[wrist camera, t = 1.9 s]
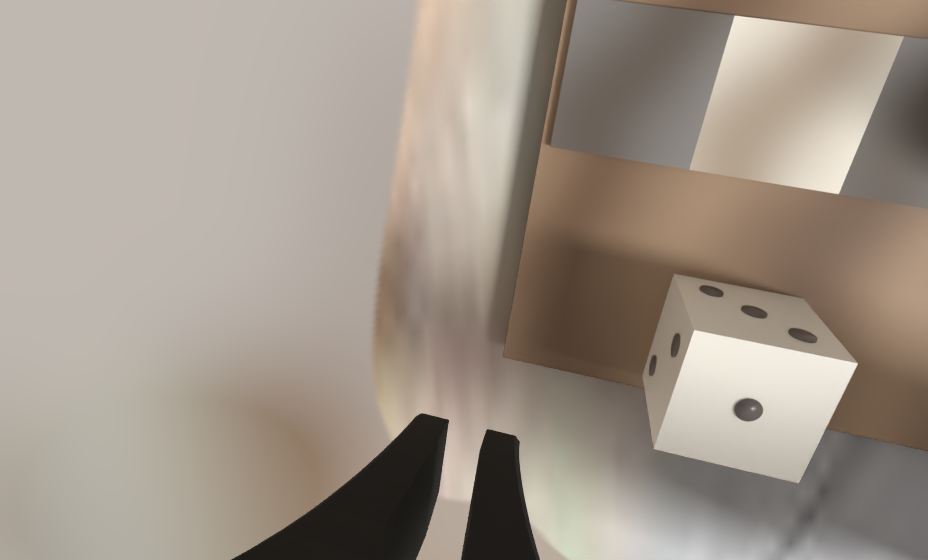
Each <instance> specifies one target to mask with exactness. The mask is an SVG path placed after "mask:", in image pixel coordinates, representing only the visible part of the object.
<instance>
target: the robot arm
mask: <svg viewBox="0 0 928 560" xmlns="http://www.w3.org/2000/svg"><path fill="white" fill-rule="evenodd" d="M448 423H449V420H447V419H443V418H439V417H435V416H431V415H427V414H423V413H421V414H419V415H418V416H416V417H415V418H414V419H413V420H412V422H411V423H410V424H409V425H408V426H407V427H406V428H405V429H404V430H403V431H402V432H401V433H400V434H399V435H398V436H397V437H396V438H395V440H393V441H392V442H391V443H390V444H389V445H388V446H387V447H386V448H385V449H384V450H383V451H382V452H381V453H380V454H379V455H378V456H377V457H376V458H374V459H373V460H372V461H371V462H370V463H369V464H368V465H367V466H366V467H365V468H363V469H362V470H361V471H360V472H359V473H358V474H357V475H355V476H354V477H353V478H352V479H351V480H349V481H348V482H347V483H346V484H344V485H343V486H342V487H341V488H339V489H338V490H337V491H336V492H334V493H333V494H332V495H331V496H329V497H328V498H327V499H325V500H324V501H323V502H321V503H320V504H319V505H318V506H316V507H315V508H313V509H312V510H311V511H309V512H308V513H306V514H305V515H304V516H302V517H301V518H299V519H297V520H296V521H295V522H293V523H292V524H290V525H289V526H287V527H286V528H284V529H283V530H281V531H279V532H278V533H276V534H274V535H273V536H271V537H269V538H268V539H266V540H265V541H263V542H261V543H260V544H258V545H256V546H255V547H253V548H251V549H250V550H248V551H246V552H244V553H242V554H241V555H239V556H237V557H235V558H234V559H232V560H416V558H417V556H418V553H419V551H420V548H421V546H422V543H423V541H424V539H425V536H426V533H427V530H428V526H429V523H430V520H431V516H432V513H433V509H434V506H435V503H436V499H437V496H438V493H439V487H440V480H441V473H442V465H443V458H444V451H445V444H446V437H447V430H448ZM519 443H520V442H519V440H518V439H517V437H516V436H514V435H510V434H506V433H501V432H497V431H493V430H489V429H487V431H486V434H485V436H484V439H483V443H482V446H481V449H480V453H479V459H478V465H477V470H476V476H475V482H474V487H473V493H472V499H471V505H470V511H469V516H468V522H467V528H466V533H465V540H464V545H463V551H462V558H461V560H540V559H539V555H538V552H537V549H536V545H535V541H534V538H533V534H532V530H531V526H530V522H529V517H528V512H527V508H526V503H525V498H524V493H523V487H522V481H521V473H520V463H519Z"/></svg>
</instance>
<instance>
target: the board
mask: <svg viewBox="0 0 928 560" xmlns="http://www.w3.org/2000/svg"><path fill="white" fill-rule="evenodd" d="M673 274H678V275H684V276H689V277H694V278H699V279H705V280H710V281H715V282H720V283H725V284H731V285H736V286H741V287H746V288H752V289H757V290H762V291H767V292H773V293H778V294H783V295H788V296H794V297H799V298H803V299H804V300H805V301H806V302H807V304H808V305H809V306H810V307H811V308H812V309H813V311H814V312H815V313H816V314H817V315H818V317H819V318H820V319H821V320H822V321H823V323H824V324H825V325H826V326H827V327H828V328H829V330H830V331H831V332H832V333H833V334H834V336H835V337H836V338H837V339H838V340H839V341H840V343H841V344H842V345H843V346H844V347H845V349H846V350H847V351H848V352H849V353H850V355H851V356H852V357H853V358H854V359H855V360H856V362H857V363H858V365H857V367H856V369H855V371H854V373H853V375H852V377H851V379H850V381H849V383H848V385H847V387H846V389H845V391H844V393H843V395H842V397H841V399H840V401H839V403H838V405H837V407H836V409H835V411H834V413H833V415H832V417H831V419H830V421H829V423H828V425H827V427H826V429H830V430H835V431H839V432H844V433H848V434H853V435H857V436H862V437H866V438H871V439H875V440H880V441H884V442H889V443H893V444H898V445H902V446H907V447H911V448H916V449H921V450H925V451H928V0H567V3H566V9H565V14H564V20H563V25H562V31H561V36H560V42H559V47H558V53H557V59H556V64H555V70H554V75H553V81H552V86H551V92H550V97H549V103H548V109H547V114H546V120H545V125H544V131H543V136H542V142H541V147H540V153H539V158H538V164H537V170H536V175H535V181H534V186H533V192H532V197H531V203H530V208H529V214H528V220H527V225H526V231H525V236H524V242H523V247H522V253H521V258H520V264H519V270H518V275H517V281H516V286H515V292H514V297H513V303H512V308H511V314H510V319H509V325H508V331H507V336H506V342H505V347H504V353H503V357H505V358H509V359H514V360H518V361H523V362H527V363H532V364H536V365H541V366H545V367H550V368H554V369H559V370H563V371H568V372H572V373H577V374H581V375H586V376H591V377H595V378H600V379H604V380H609V381H613V382H618V383H622V384H627V385H631V386H636V387H640V388H644V383H643V377H642V375H643V372H644V369H645V365H646V362H647V359H648V356H649V352H650V349H651V346H652V343H653V339H654V336H655V333H656V330H657V326H658V323H659V320H660V317H661V313H662V310H663V307H664V304H665V300H666V297H667V294H668V291H669V287H670V284H671V281H672V277H673Z"/></svg>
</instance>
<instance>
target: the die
mask: <svg viewBox="0 0 928 560" xmlns="http://www.w3.org/2000/svg"><path fill="white" fill-rule="evenodd" d="M857 365H858V363H857V362H856V360H855V359H854V358H853V357H852V356H851V355H850V353H849V352H848V351H847V350H846V349H845V347H844V346H843V345H842V344H841V343H840V341H839V340H838V339H837V338H836V337H835V336H834V334H833V333H832V332H831V331H830V330H829V328H828V327H827V326H826V325H825V324H824V323H823V321H822V320H821V319H820V318H819V317H818V315H817V314H816V313H815V312H814V311H813V309H812V308H811V307H810V306H809V305H808V304H807V302H806V301H805V300H804V299H803V298H799V297H794V296H788V295H783V294H778V293H773V292H767V291H762V290H757V289H752V288H746V287H741V286H736V285H731V284H725V283H720V282H715V281H710V280H705V279H699V278H694V277H689V276H684V275H678V274H673V277H672V281H671V284H670V287H669V291H668V294H667V297H666V300H665V304H664V307H663V310H662V313H661V317H660V320H659V323H658V326H657V330H656V333H655V336H654V339H653V343H652V346H651V349H650V352H649V356H648V359H647V362H646V365H645V369H644V372H643V375H642V377H643V383H644V390H645V396H646V403H647V409H648V415H649V422H650V428H651V435H652V441H653V448H654V449H655V450H659V451H664V452H668V453H672V454H676V455H681V456H685V457H689V458H693V459H697V460H702V461H706V462H710V463H714V464H719V465H723V466H727V467H731V468H736V469H740V470H744V471H748V472H753V473H757V474H761V475H765V476H769V477H774V478H778V479H782V480H786V481H791V482H795V483H799V482H800V480H801V478H802V476H803V474H804V472H805V470H806V468H807V466H808V464H809V462H810V460H811V458H812V456H813V454H814V452H815V450H816V448H817V446H818V444H819V442H820V439H821V437H822V435H823V433H824V431H825V429H826V427H827V425H828V423H829V421H830V419H831V417H832V415H833V413H834V411H835V409H836V407H837V405H838V403H839V401H840V399H841V397H842V395H843V393H844V391H845V389H846V387H847V385H848V383H849V381H850V379H851V377H852V375H853V373H854V371H855V369H856V367H857Z"/></svg>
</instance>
